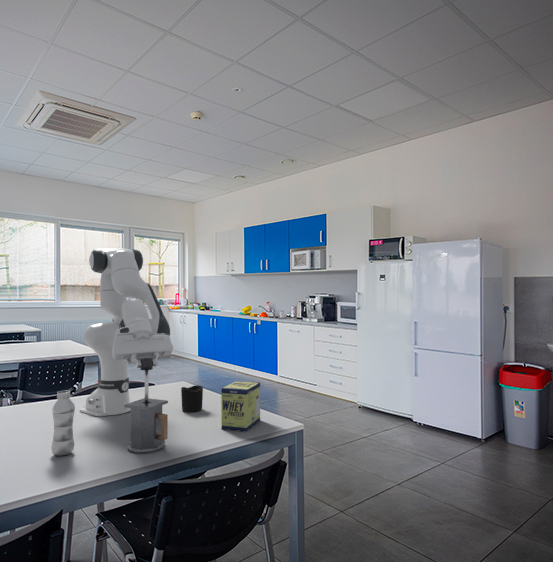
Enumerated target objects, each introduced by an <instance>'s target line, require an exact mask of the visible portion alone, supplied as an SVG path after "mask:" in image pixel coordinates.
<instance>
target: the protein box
mask: <svg viewBox="0 0 553 562" xmlns="http://www.w3.org/2000/svg"><path fill="white" fill-rule="evenodd" d="M220 397H221V399H220V400H221V402H220V403H221V408H220V409H221V430H225V429H230V430H229V431H235V430H240V431H239V432H244V431H247V430H248V429H249V430H251V428H253V427H254V426H255V425H257V424H258V423H259V422H260V421H261V382H259V381H258V382H257V381H247V380H245V381H244V380H236V381H234V382H232V383H230V384H228V385H225V386H224V387H222V388H221V395H220ZM257 422H258V423H257ZM253 425H254V426H253ZM252 426H253V427H252ZM249 430H248V431H249ZM248 431H247V432H248Z"/></svg>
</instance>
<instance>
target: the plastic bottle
mask: <svg viewBox="0 0 553 562" xmlns="http://www.w3.org/2000/svg"><path fill="white" fill-rule="evenodd" d="M56 393H57V394H56V395H57V396H56V399H57V400H56V401H55V403H54V405H53V407H52V410H51V411H52V420H53V435H52V437H53V438H52V442H51V454H52V455H54V456H58V457H59V456H66V455H69V454H71V453H72V452H73V451H74V449H75V445H76V444H75V438H74V429H73V424H74V416H75V410H76V407H75V403H74V402H73V401H72V399H70V398H71V391H70V390H60V391H57V392H56Z"/></svg>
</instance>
